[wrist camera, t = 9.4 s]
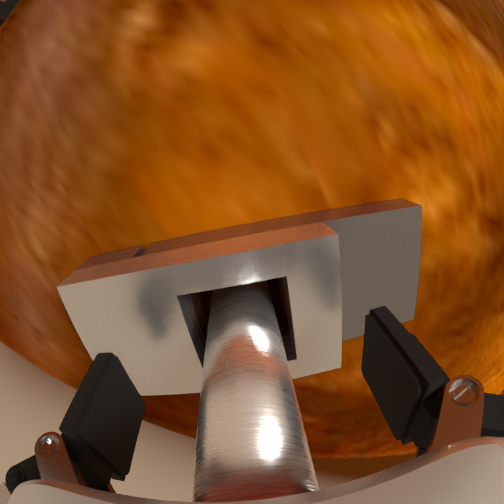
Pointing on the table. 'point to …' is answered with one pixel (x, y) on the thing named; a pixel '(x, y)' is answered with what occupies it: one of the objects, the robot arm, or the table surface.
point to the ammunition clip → (6, 8)
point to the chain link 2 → (346, 258)
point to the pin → (248, 405)
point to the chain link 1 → (197, 280)
